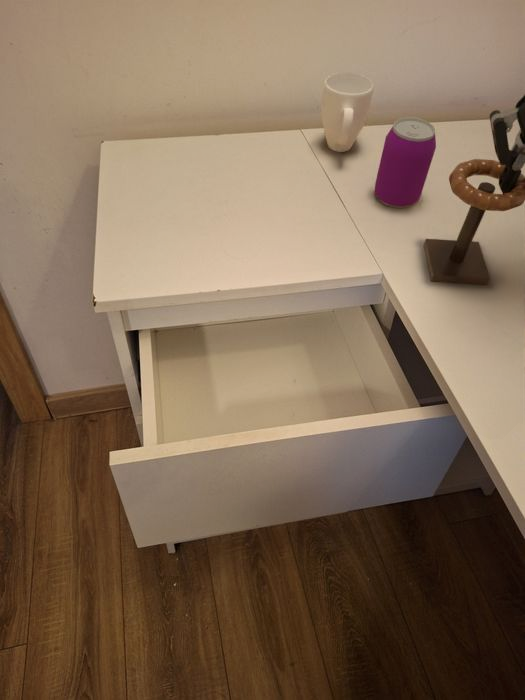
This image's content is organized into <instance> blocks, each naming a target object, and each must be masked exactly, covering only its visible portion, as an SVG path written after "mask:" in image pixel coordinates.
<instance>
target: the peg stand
mask: <svg viewBox="0 0 525 700" xmlns="http://www.w3.org/2000/svg"><path fill="white" fill-rule="evenodd" d="M477 189H478V190H481V191H484V192H487V193H490V194H495V191H496V186H495V185H494V184H493V183H491V182H487V181H483V182H481V183H479V185H478V187H477ZM486 212H487V210H482V209H479V208H477V207H474V206H471V205H469V209H468V212H467V214H466V216H465V218H464V221H463V223H462V226H461V229H460V230H459V233H458V236H457V238H456V240H455V239H439V238H425V240H424V242H423V248H424V253H425V258H426V262H427V267H428V272H429V277H430V281H431V282H437V283H439V282H440V283H453V284H455V283H457V284H471V285H473V284H474V285H488V284H489V282H490V280H491V276H490V273H489V271H488V267H487V264H486V261H485V257H484V254H483V251H482V247H481V244H480V241H473V240H474V238H475V236H476V233H477V231H478V230H479V227H480V224H481V222H482V220H483V218H484V215H485V213H486Z"/></svg>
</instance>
